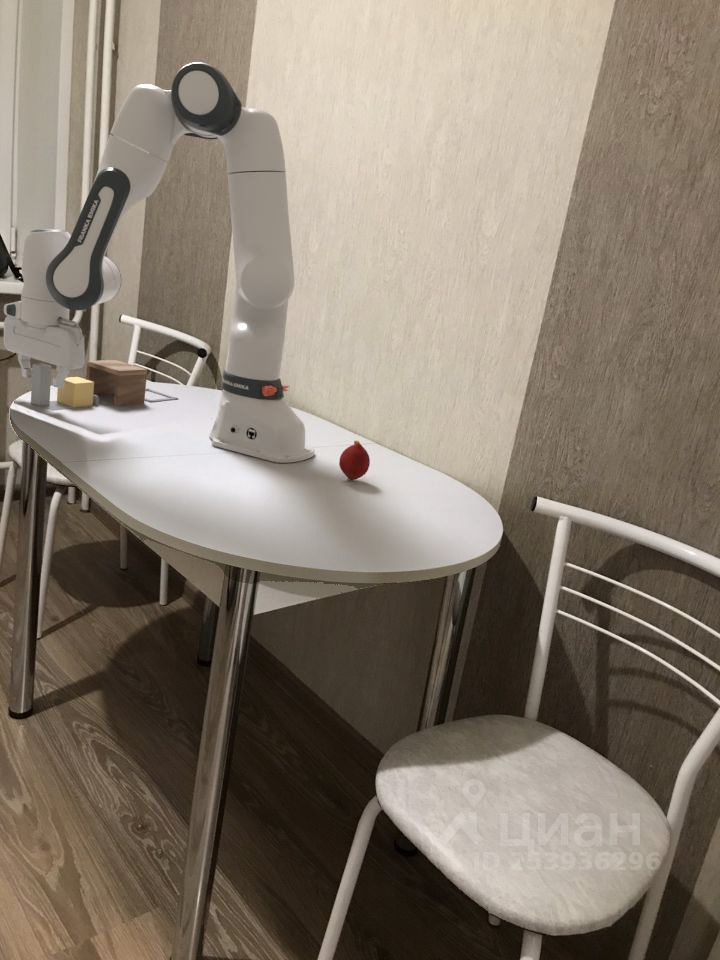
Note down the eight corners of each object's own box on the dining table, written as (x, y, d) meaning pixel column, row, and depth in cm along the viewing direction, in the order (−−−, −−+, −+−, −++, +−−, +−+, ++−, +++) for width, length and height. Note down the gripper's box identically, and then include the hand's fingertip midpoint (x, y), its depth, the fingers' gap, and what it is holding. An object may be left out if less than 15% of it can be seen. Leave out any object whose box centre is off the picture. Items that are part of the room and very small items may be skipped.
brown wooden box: (143, 408, 167) (147, 369, 165) (116, 411, 161) (119, 371, 158) (112, 398, 172) (115, 359, 169) (84, 400, 165) (87, 361, 162)
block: (92, 405, 157) (94, 382, 156) (73, 407, 153) (74, 383, 152) (76, 399, 160) (77, 376, 158) (56, 401, 155) (58, 378, 154)
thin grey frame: (177, 404, 177) (178, 398, 176) (150, 407, 169) (150, 401, 169) (147, 394, 181) (147, 388, 181) (119, 397, 173) (119, 391, 173)
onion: (359, 476, 146) (366, 437, 144) (370, 486, 141) (378, 446, 139) (332, 474, 144) (339, 435, 141) (342, 484, 139) (349, 444, 136)
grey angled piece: (110, 408, 161) (113, 367, 159) (51, 415, 148) (53, 371, 146) (90, 401, 164) (93, 361, 161) (30, 407, 151) (32, 364, 148)
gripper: (94, 323, 144) (90, 392, 148) (25, 304, 153) (23, 370, 157) (67, 323, 139) (64, 395, 143) (-2, 304, 148) (-4, 372, 152)
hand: (42, 382), depth 150 cm, fingers open, 8 cm apart
